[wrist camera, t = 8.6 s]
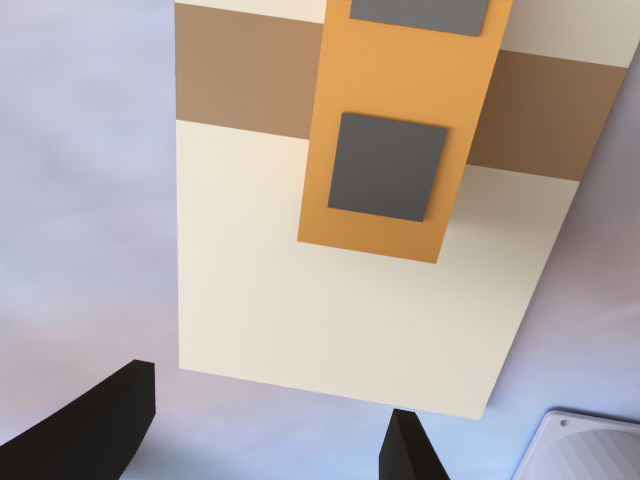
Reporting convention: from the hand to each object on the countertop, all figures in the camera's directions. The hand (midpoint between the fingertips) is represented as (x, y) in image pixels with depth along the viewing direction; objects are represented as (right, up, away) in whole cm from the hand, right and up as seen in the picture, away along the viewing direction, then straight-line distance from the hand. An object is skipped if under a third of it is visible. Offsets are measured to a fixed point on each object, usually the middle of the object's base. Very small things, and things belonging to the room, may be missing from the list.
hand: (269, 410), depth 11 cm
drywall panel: (+4, +7, +7) cm, 10 cm away
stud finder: (+4, +10, +5) cm, 12 cm away
